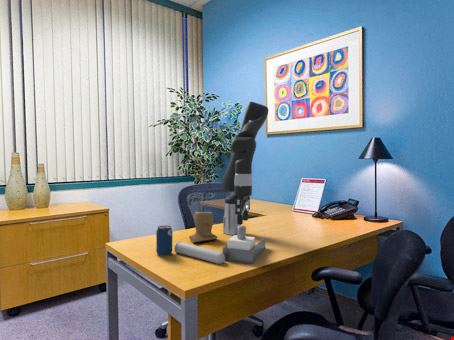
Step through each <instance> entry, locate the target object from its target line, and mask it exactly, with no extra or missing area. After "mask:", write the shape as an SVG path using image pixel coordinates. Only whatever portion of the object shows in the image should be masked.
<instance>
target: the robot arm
mask: <svg viewBox="0 0 454 340" xmlns="http://www.w3.org/2000/svg"><path fill="white" fill-rule="evenodd" d="M268 114H269V107H267V106H266V105H263V104H260V103H258V102H254V101H249V102H248V104H247V105H246V108H245V112H244V116H243V120H242V123H241V126H240V130H239V133H237V134H236V135H235V136H234V137H232V138H233V139H232V140H231V143H230V149H231V151H232V155H231V157H230V161H229V163H228V166H227V168H226V170H225V172H224V175H223V178H222V180H221V187H222V189H223V190H224V192H231V194H230V195H228V196H226V197H225V198H224V216H223V222H222V224H223V225H222V227H223V228H222V234H225V235H230V236H234V235H237V232H238V226H243V224H244V221H249V211H250V210H251V196H252V195H253V176H252V173H253V172H252V171H253V170H252V165H253V159H254V156H255V152H256V149H257V141H256V138H257V135H258V133H259V130H260V129H261V128H262V127H263V125H264V124H265V122H266V120H267V118H268Z"/></svg>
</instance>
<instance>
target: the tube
mask: <svg viewBox="0 0 454 340" xmlns="http://www.w3.org/2000/svg"><path fill="white" fill-rule="evenodd" d="M173 252H175V253H176V254H180V255H184V256H188V257H191V258H196V259H199V260H203V261H206V262H210V263H213V264H217V265H221V264H223V263H224V262H225V255H224V254H223V253H222V251H219V250H215V249H212V248H211V249H210V248H206V247H201V246H198V245H195V244H190V243H187V242H182V241H177V242H175V245H174V250H173Z"/></svg>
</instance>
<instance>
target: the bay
mask: <svg viewBox="0 0 454 340" xmlns="http://www.w3.org/2000/svg"><path fill="white" fill-rule="evenodd" d="M265 249H266V237H263V238H261V239H260V241H259V242H257V243H255V247H254V248H253V249H252V250H251V251H247V250H239V249H231V248H227V244H226V245H225V246H223V247H222V251H221V252H222V253H223V254H224V255H225V260H224V262H234V263H242V264H249V265H253V264H254V263H255V262H256V261H257V259H258V258H259V257H260V255H261V254H262V253H263V252H264V251H265Z"/></svg>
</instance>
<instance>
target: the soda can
mask: <svg viewBox="0 0 454 340" xmlns="http://www.w3.org/2000/svg"><path fill="white" fill-rule="evenodd" d="M155 233H156V239H155V240H156V241H155V242H156V243H155V244H156V245H155V249H156V250H155V252H156V254H157V255H158V256H159V257H160V256H161V257H167V256H170V255H171V254H172V252H173V229H172V226H171V225H158V226H157V229H156V231H155Z"/></svg>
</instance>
